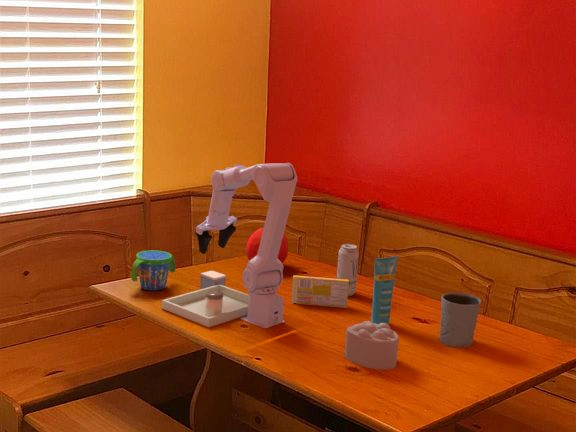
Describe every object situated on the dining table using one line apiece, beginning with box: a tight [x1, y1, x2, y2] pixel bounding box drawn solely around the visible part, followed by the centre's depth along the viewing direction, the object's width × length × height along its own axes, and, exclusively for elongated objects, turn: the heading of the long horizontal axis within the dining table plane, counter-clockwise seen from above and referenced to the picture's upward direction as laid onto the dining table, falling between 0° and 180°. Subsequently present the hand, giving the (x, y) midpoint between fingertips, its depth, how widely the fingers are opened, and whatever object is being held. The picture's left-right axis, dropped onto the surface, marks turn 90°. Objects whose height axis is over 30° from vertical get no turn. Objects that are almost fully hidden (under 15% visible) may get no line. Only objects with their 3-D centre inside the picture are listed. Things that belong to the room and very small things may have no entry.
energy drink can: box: [336, 243, 360, 297], centre depth 252 cm, size 6×6×15 cm
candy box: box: [291, 274, 349, 309], centre depth 242 cm, size 16×2×8 cm, turn 84°
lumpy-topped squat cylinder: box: [344, 320, 400, 370], centre depth 205 cm, size 10×13×9 cm
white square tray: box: [161, 284, 249, 328], centre depth 232 cm, size 19×22×3 cm
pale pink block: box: [199, 270, 227, 290], centre depth 249 cm, size 6×5×5 cm
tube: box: [370, 255, 399, 326], centre depth 228 cm, size 7×5×19 cm, turn 123°
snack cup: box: [130, 249, 177, 292], centre depth 248 cm, size 16×10×10 cm
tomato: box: [245, 224, 289, 264], centre depth 273 cm, size 16×14×14 cm
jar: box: [205, 291, 223, 317], centre depth 225 cm, size 5×5×7 cm
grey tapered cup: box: [439, 292, 482, 349], centre depth 219 cm, size 10×10×12 cm
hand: (211, 249), depth 245 cm, fingers open, 7 cm apart
